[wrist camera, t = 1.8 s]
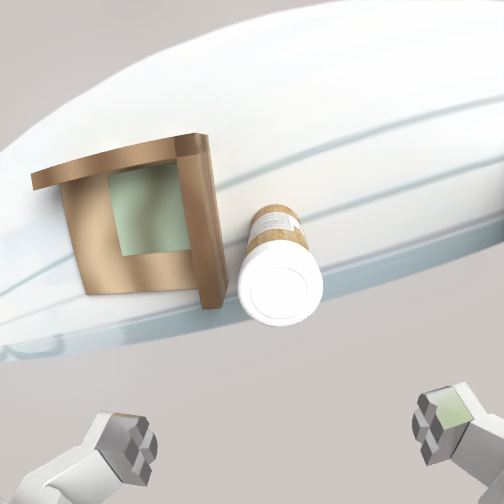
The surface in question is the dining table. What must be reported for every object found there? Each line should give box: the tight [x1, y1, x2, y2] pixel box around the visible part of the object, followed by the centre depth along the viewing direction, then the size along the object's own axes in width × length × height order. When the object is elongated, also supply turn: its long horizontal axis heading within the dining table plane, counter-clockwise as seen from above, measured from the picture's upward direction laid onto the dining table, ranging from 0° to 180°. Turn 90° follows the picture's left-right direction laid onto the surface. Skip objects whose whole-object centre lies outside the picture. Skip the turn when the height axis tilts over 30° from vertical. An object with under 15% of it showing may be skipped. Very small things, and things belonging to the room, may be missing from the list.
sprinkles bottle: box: [237, 204, 323, 327], centre depth 23 cm, size 5×5×13 cm
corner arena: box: [31, 133, 228, 310], centre depth 27 cm, size 16×14×5 cm
